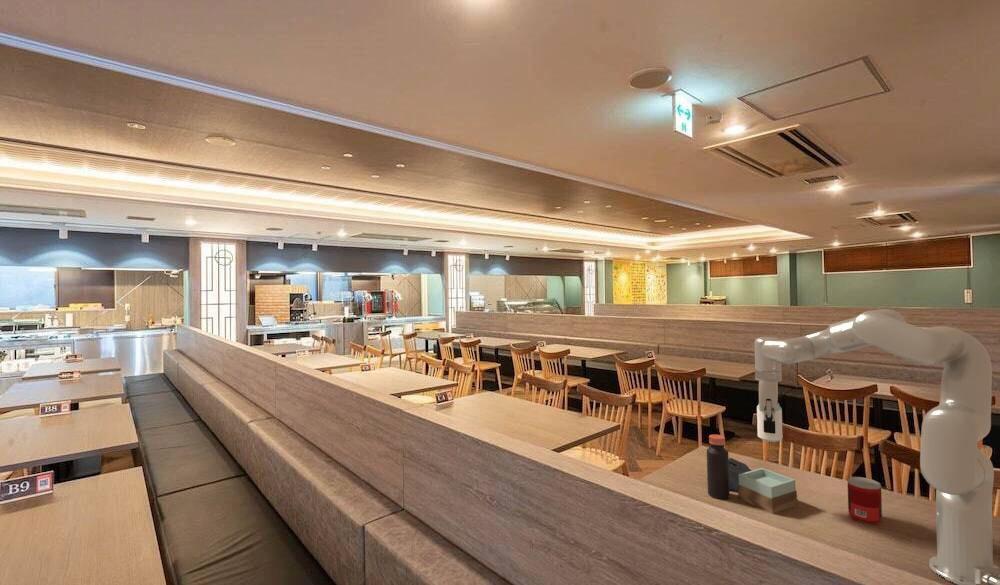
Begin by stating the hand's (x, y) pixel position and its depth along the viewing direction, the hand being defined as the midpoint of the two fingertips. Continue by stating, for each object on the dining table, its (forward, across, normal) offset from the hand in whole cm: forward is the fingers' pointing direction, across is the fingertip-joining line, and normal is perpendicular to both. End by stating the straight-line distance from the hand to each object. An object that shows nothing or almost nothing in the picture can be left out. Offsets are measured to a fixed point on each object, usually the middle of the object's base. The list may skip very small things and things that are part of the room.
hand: (769, 429), depth 151 cm
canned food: (+24, -1, +24) cm, 34 cm away
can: (+3, 0, 0) cm, 3 cm away
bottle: (+24, +2, -16) cm, 29 cm away
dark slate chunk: (+25, -14, -13) cm, 31 cm away
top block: (+20, 0, -1) cm, 20 cm away
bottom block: (+25, 0, -1) cm, 25 cm away
